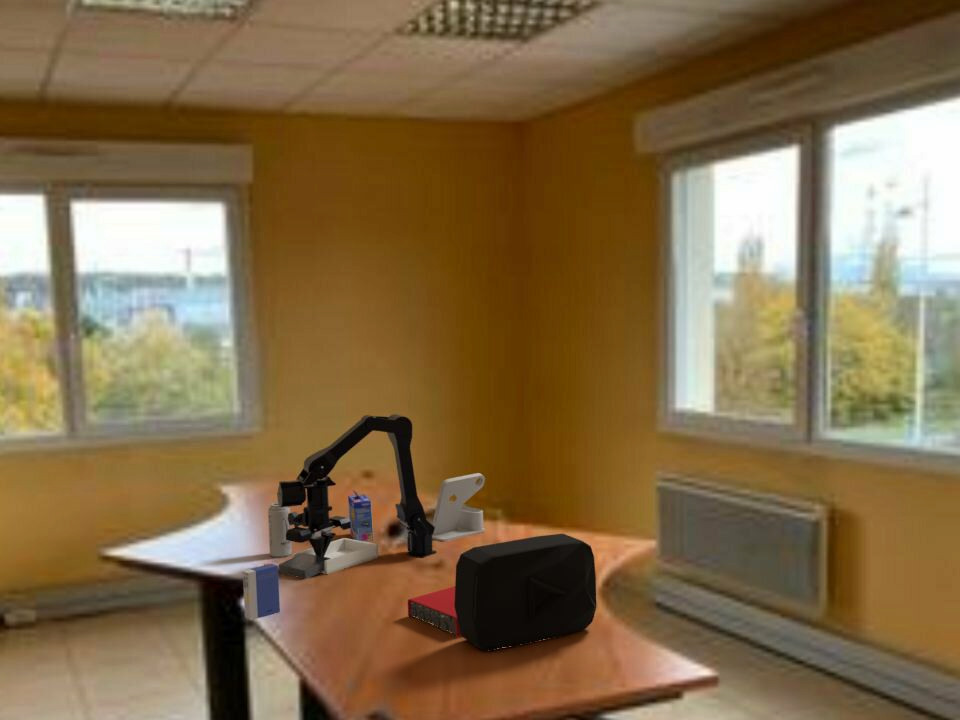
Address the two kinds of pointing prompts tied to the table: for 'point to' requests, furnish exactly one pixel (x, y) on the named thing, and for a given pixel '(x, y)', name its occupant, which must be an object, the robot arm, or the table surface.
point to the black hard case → (525, 590)
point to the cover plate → (303, 565)
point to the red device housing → (436, 609)
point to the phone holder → (457, 509)
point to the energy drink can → (279, 530)
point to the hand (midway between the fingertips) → (320, 560)
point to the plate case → (345, 554)
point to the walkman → (261, 591)
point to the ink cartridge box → (360, 517)
